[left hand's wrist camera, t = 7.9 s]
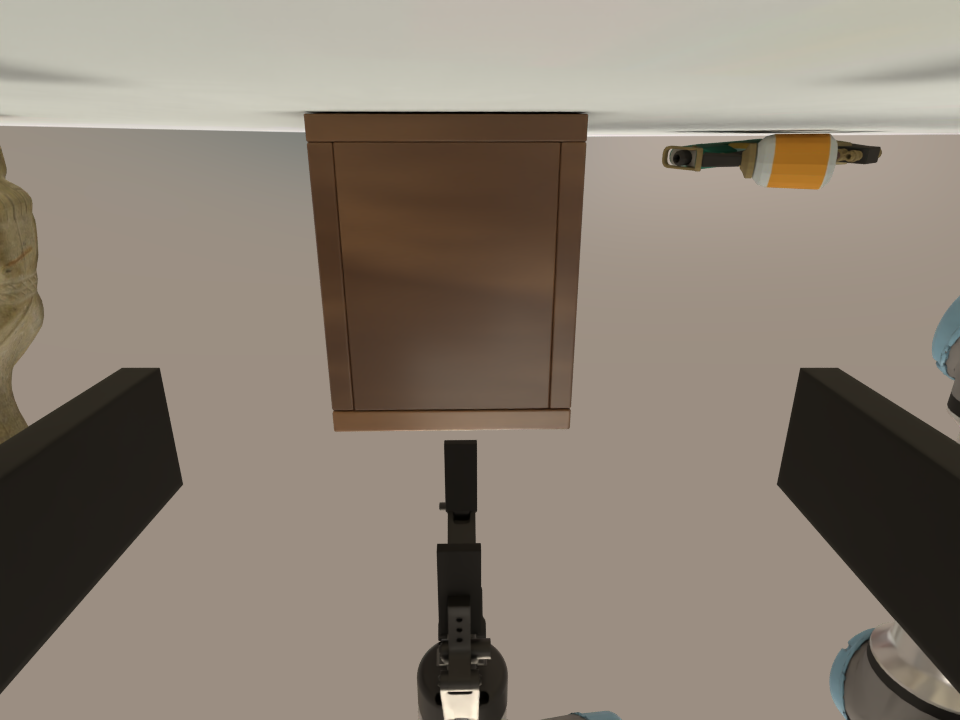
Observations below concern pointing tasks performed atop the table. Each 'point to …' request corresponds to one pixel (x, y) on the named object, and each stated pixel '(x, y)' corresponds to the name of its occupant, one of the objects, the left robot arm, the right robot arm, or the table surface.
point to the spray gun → (776, 158)
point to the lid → (451, 419)
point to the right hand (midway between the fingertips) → (459, 486)
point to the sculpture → (16, 293)
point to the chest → (448, 257)
